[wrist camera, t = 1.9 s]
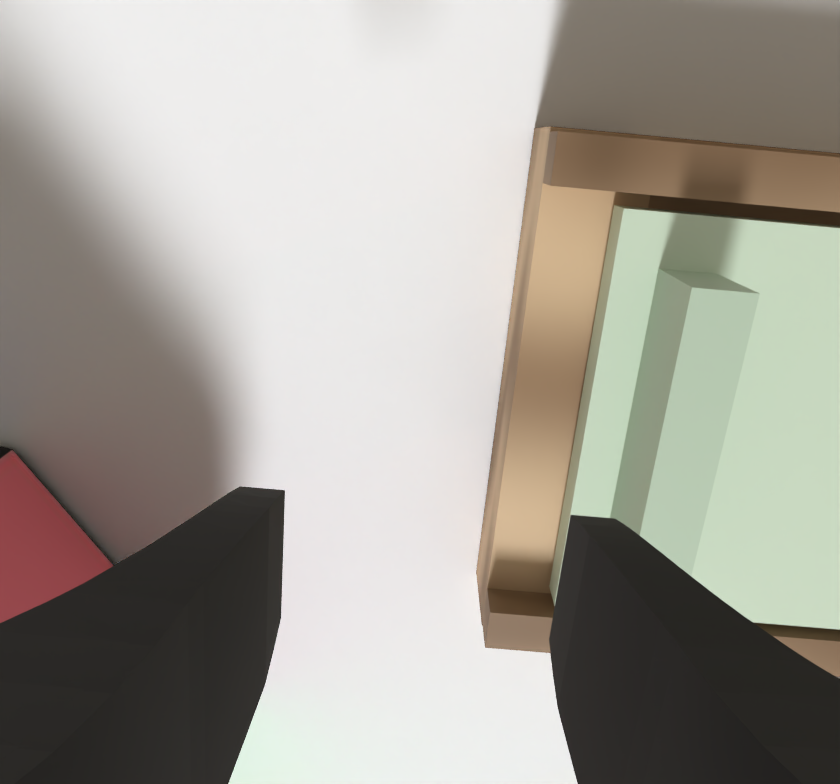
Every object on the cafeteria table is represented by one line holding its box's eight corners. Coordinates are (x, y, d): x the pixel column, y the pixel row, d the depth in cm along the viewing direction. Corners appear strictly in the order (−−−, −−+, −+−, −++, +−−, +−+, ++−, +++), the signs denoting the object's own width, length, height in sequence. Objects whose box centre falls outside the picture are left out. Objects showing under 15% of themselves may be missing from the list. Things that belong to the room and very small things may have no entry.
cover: (868, 612, 18) (943, 693, 16) (549, 586, 18) (569, 663, 15) (995, 240, 15) (1114, 261, 13) (613, 204, 15) (653, 218, 12)
